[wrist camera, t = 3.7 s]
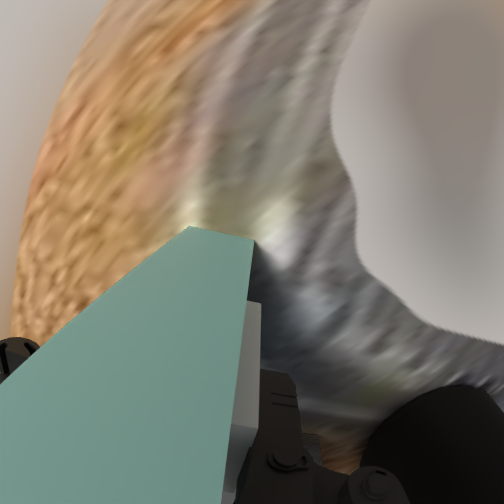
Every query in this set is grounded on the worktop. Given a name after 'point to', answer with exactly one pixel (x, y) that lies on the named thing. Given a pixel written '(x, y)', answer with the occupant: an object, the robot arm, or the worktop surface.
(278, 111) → the worktop surface
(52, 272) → the worktop surface
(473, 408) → the coffee jar
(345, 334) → the worktop surface
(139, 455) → the keyed peg
